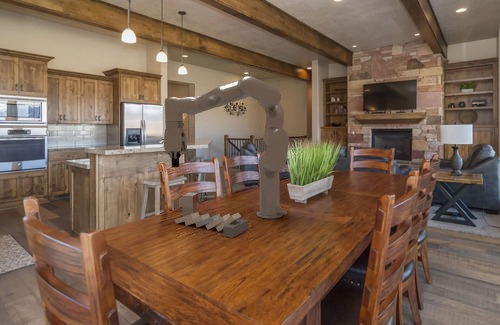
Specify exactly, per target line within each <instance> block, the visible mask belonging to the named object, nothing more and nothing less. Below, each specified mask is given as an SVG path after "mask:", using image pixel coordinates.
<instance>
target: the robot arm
mask: <svg viewBox="0 0 500 325" xmlns="http://www.w3.org/2000/svg"><path fill="white" fill-rule="evenodd" d="M249 97H250V98H252V99H255V100H256V101H257V102H258V105H259V106H260V107H261V108H263V111H264V112H265V113H264V114H265V126H264V132H263V138H262V139H263V143H264V144H265V146H267V148H266V150H264V151H263V152H262V153H261V154H260V155H259V157H258V171H259V211H257V212H256V216H257V217H258V218H261V219H267V220H268V219H269V220H270V219H271V220H272V219H279V218H281V217H283V215H287V213H288V210H287V209H285V208H284V209H283V208H282V206H281V205H280V182H281V180H280V172H282V171H283V170H284V168H285V166H286V164H287V159H288V151H289V144H290V138H289V137H290V136H289V134H288V132H287V130H285V129H284V125H285V124H284V121H285V112H284V109H283V107H282V105H281V103H280V102H281V100H282V94H281V91H280V90H279V89H278V88H277V87H274V86H273V85H271V84H269V83H267V82H264V81H263V80H260V79H258V78H256V77H254V76H251V75H246V76H243V77H242V78H241V79H239V80H235V81H232V82H229V83H226V84H224V85H223V84H222V85H219V86H217V87H214V88H213V89H212V90H210V91H207V92H205V93H203V94H201V95H198V96H186V97H176V96H171V97H166V98H165V99H164V119H165V120H164V121H165V122H164V123H165V126H164V128H165V129H164V134H163V150H164V151H165V154H166V155H168V156H169V158H170V159H171V168H174V169H175V168H179V167H180V159H181V157H182V155H185V154H186V151H187V150H188V141H187V134H186V130H185V128H184V126H185V123H184V122H183V120H184V119H183V118H184V117H183V116H184V115H183V114H186V115H189V116H195V115H197V114H201V113H203V112H206V111H209V110H212V109H215V108H220V107H222V106H226V105H228V104H231V103H234V102H237V101H241V100H243V99H247V98H249Z"/></svg>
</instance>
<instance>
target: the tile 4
mask: <svg viewBox="0 0 500 325" xmlns="http://www.w3.org/2000/svg"><path fill="white" fill-rule="evenodd" d="M230 214H231V213H227V214H225V215H222V216H220V218H218V219H217V220H215V221H213V222H210V223H208V224H205V227H206V229H207V230H208V231H209V230H211V229H212V228H216V227H217V226H219V225H220V224H221V223H223V222H224V221H225V220H226V219H228V218H229V217H230V216H231V215H230Z"/></svg>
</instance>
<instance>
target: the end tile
mask: <svg viewBox="0 0 500 325" xmlns="http://www.w3.org/2000/svg"><path fill="white" fill-rule="evenodd" d="M198 216H201V215H200V211H199V212H196V213H193V214H190V215H187V216H184V217H183V216H182V217H179V218H175V219H174V222H175V224H177V225H178V224H179V223H180V224H181V223H185V221H187V220H190V219H193V218H196V217H198Z"/></svg>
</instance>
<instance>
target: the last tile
mask: <svg viewBox="0 0 500 325" xmlns="http://www.w3.org/2000/svg"><path fill="white" fill-rule="evenodd" d="M241 217H242V216H241V214H240V212H237V213H234V214H232V215H230V217H229V218H228V219H226V220H225V221H224V222H223V223H221V224H219V225H217V226H215V229H216V230H217V232H218V233H219V232H221V231H224V226H226V225H228V224H230V223H232V222H234V221H236V220H239V219H241Z"/></svg>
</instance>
